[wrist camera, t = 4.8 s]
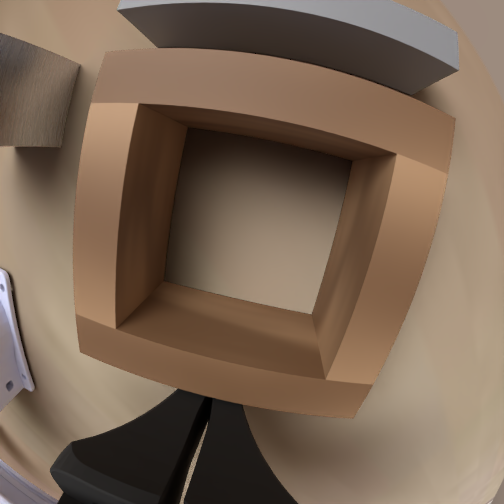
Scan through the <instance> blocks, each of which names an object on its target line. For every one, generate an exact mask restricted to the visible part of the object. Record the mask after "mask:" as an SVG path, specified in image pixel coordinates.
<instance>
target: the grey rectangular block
mask: <svg viewBox="0 0 504 504" xmlns="http://www.w3.org/2000/svg"><path fill="white" fill-rule="evenodd" d="M79 68H80V64H78V63H76V62H74V61H71V60H69V59H67V58H65V57H62V56H60V55H58V54H55V53H53V52H50V51H48V50H45V49H43V48H40V47H38V46H35V45H33V44H30V43H27V42H25V41H22V40H19V39H16V38H14V37H11V36H8V35H5V34H2V33H0V147H21V146H24V147H62V140H63V135H64V129H65V124H66V119H67V114H68V110H69V105H70V101H71V97H72V93H73V89H74V85H75V82H76V78H77V75H78V71H79Z"/></svg>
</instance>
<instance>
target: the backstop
mask: <svg viewBox="0 0 504 504" xmlns="http://www.w3.org/2000/svg"><path fill="white" fill-rule="evenodd" d="M117 11H118V12H119V13H121V14H122V15H123V16H124V17H125V18H126V19H127V20H128V21H130V22H131V23H132V24H133V25H134V26H135V27H136V28H137V29H138V30H139V31H140V32H142V33H143V34H144V35H145V36H146V37H147V38H148V39H149V40H150V41H151V42H152V43H153V44H154V45H155V46H156V47H157V48H167V47H182V48H210V49H224V50H235V51H244V52H252V53H260V54H266V55H273V56H279V57H284V58H289V59H295V60H299V61H304V62H309V63H313V64H317V65H321V66H325V67H329V68H333V69H337V70H340V71H344V72H347V73H350V74H354V75H357V76H360V77H363V78H366V79H369V80H372V81H375V82H378V83H381V84H383V85H386V86H389V87H391V88H394V89H397V90H399V91H402V92H404V93H407V94H409V95H413V94H415V93H416V92H418V91H420V90H422V89H424V88H426V87H428V86H430V85H431V84H433V83H435V82H437V81H439V80H441V79H443V78H445V77H447V76H449V75H451V74H453V73H455V72H457V71H459V52H458V35H457V32H455V31H454V30H452V29H450V28H448V27H447V26H445V25H443V24H441V23H439V22H437V21H435V20H433V19H431V18H429V17H427V16H425V15H423V14H421V13H419V12H417V11H415V10H412V9H410V8H408V7H406V6H403V5H401V4H398V3H396V2H393V1H391V0H121V1H120V3H119V6H118V8H117Z"/></svg>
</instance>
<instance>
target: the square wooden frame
mask: <svg viewBox="0 0 504 504" xmlns="http://www.w3.org/2000/svg"><path fill="white" fill-rule="evenodd" d="M188 127H190V128H198V129H205V130H212V131H219V132H225V133H232V134H238V135H243V136H249V137H254V138H260V139H265V140H270V141H274V142H279V143H284V144H288V145H293V146H297V147H301V148H306V149H310V150H314V151H318V152H322V153H325V154H329V155H333V156H336V157H340V158H344V159H347V160H351V161H353V162H352V166H351V171H350V176H349V180H348V185H347V189H346V193H345V198H344V202H343V206H342V210H341V214H340V218H339V222H338V226H337V230H336V234H335V238H334V241H333V245H332V249H331V252H330V256H329V259H328V263H327V266H326V270H325V273H324V277H323V280H322V283H321V287H320V290H319V293H318V297H317V300H316V303H315V306H314V309H313V312H312V315H311V314H306V313H300V312H295V311H290V310H286V309H281V308H276V307H271V306H267V305H262V304H257V303H253V302H248V301H244V300H239V299H235V298H231V297H226V296H222V295H218V294H214V293H209V292H205V291H201V290H197V289H193V288H189V287H185V286H181V285H177V284H173V283H170V282H166V281H164V274H165V265H166V256H167V247H168V239H169V232H170V225H171V218H172V211H173V204H174V198H175V192H176V186H177V180H178V174H179V169H180V163H181V158H182V153H183V148H184V143H185V138H186V134H187V129H188ZM454 129H455V118H454V117H452V116H450V115H448V114H446V113H444V112H442V111H440V110H438V109H436V108H434V107H432V106H430V105H428V104H425V103H423V102H421V101H419V100H417V99H414V98H412V97H410V96H407V95H405V94H402V93H400V92H397V91H395V90H392V89H390V88H387V87H384V86H382V85H379V84H376V83H373V82H370V81H368V80H365V79H361V78H358V77H355V76H352V75H349V74H345V73H342V72H339V71H335V70H331V69H328V68H324V67H320V66H316V65H311V64H307V63H303V62H298V61H293V60H288V59H283V58H277V57H272V56H265V55H259V54H252V53H244V52H235V51H225V50H212V49H192V48H152V49H132V50H120V51H110V52H106V53H105V56H104V59H103V62H102V65H101V68H100V71H99V75H98V78H97V82H96V85H95V89H94V93H93V97H92V101H91V105H90V109H89V113H88V118H87V123H86V128H85V133H84V138H83V144H82V150H81V156H80V163H79V170H78V178H77V187H76V198H75V211H74V230H73V281H74V300H75V313H76V324H77V333H78V341H79V348H80V352H81V353H83V354H85V355H88V356H90V357H92V358H95V359H97V360H99V361H102V362H104V363H107V364H109V365H112V366H114V367H117V368H119V369H122V370H124V371H127V372H130V373H133V374H135V375H138V376H141V377H144V378H147V379H150V380H153V381H156V382H159V383H162V384H165V385H168V386H172V387H175V388H178V389H182V390H185V391H189V392H193V393H196V394H200V395H204V396H208V397H212V398H216V399H220V400H225V401H229V402H234V403H238V404H243V405H248V406H253V407H259V408H265V409H270V410H277V411H283V412H290V413H298V414H306V415H315V416H325V417H338V418H354V416H355V414H356V413H357V411H358V410H359V408H360V406H361V405H362V403H363V401H364V399H365V398H366V396H367V394H368V392H369V391H370V389H371V387H372V385H373V384H374V382H375V380H376V378H377V376H378V374H379V372H380V370H381V368H382V366H383V365H384V363H385V361H386V359H387V357H388V354H389V352H390V350H391V348H392V346H393V344H394V342H395V340H396V338H397V335H398V333H399V331H400V329H401V326H402V324H403V322H404V319H405V317H406V314H407V312H408V310H409V307H410V305H411V302H412V299H413V297H414V294H415V292H416V289H417V286H418V283H419V281H420V278H421V275H422V272H423V269H424V266H425V263H426V260H427V257H428V254H429V250H430V247H431V244H432V240H433V237H434V233H435V229H436V226H437V222H438V218H439V214H440V210H441V206H442V201H443V197H444V192H445V187H446V182H447V177H448V171H449V165H450V159H451V153H452V145H453V138H454Z"/></svg>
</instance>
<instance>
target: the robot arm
mask: <svg viewBox="0 0 504 504" xmlns="http://www.w3.org/2000/svg"><path fill="white" fill-rule="evenodd" d="M23 388H26V389H27V390H29V391H31V392H32V391H33V390H34V389H35V387H34V384H33V381H32V378H31V375H30V372H29V368H28V365H27V362H26V358H25V355H24V351H23V347H22V343H21V339H20V335H19V330H18V326H17V321H16V316H15V311H14V305H13V299H12V293H11V286H10V279H9V276H8V274H7V272H6V271H4V270H3V269H1V268H0V411H1V410H2V409H3V408H4V407H5V406H6V405H7V404H8V403H9V402H10V401H11V400H12V399H13V398H14V397H15V396H16V395H17V394H18V393H19V392H20V391H21V390H22V389H23ZM207 422H208V426H207V431H206V434H205V437H204V440H203V444H202V447H201V450H200V453H199V456H198V459H197V463H196V466H195V469H194V472H193V475H192V478H191V481H190V484H189V487H188V490H187V492H186V495H185V498H184V504H298V503H297V502H296V501H295V499H294V498H293V497H292V496H291V495H290V494H289V493H288V492H287V490H286V489H285V488H284V487H283V485H282V484H281V483H280V481H279V480H278V479H277V477H276V476H275V475H274V473H273V472H272V470H271V468H270V467H269V465H268V464H267V462H266V460H265V459H264V457H263V456H262V454H261V452H260V450H259V448H258V446H257V444H256V442H255V440H254V437H253V435H252V433H251V430H250V428H249V425H248V422H247V419H246V416H245V413H244V409H243V405H242V404H238V403H234V402H229V401H225V400H220V399H216V398H212V397H208V396H204V395H200V394H196V393H193V392H189V391H185V390H182V389H177V390H176V391H175V392H173V393H172V394H171V395H170V396H169V397H167V398H166V399H165V400H164V401H162V402H161V403H160V404H158V405H157V406H155V407H154V408H153V409H151V410H149V411H148V412H146V413H145V414H143V415H141V416H140V417H138V418H136V419H134V420H132V421H130V422H128V423H126V424H124V425H122V426H120V427H117V428H115V429H112V430H110V431H107V432H105V433H102V434H99V435H96V436H93V437H89V438H85V439H81V440H77V441H73V442H71V443H70V444H69V445H68V446H67V447H66V448H65V449H64V450H63V451H62V452H61V454H60V455H59V456H58V458H57V459H56V461H55V462H54V464H53V465H52V467H51V468H50V473H51V475H52V477H53V479H54V480H55V481H56V483H57V484H58V485H59V487H60V488H61V489H62V491H63V492H64V493H63V494H62V496H61V498H60V500H59V501H58V500H57V499H55V498H53V497H52V496H50V495H49V494H47V493H45V492H44V491H42V490H41V489H39V488H38V487H36V486H35V485H34V484H32V483H31V482H29V481H28V480H27V479H25V478H24V477H22V476H21V475H20V474H19V473H17V472H16V471H15V470H13V469H12V468H11V467H10V466H8V465H7V464H6V463H5V462H4V461H2V460H1V459H0V504H179V503H180V500H181V496H182V492H183V489H184V485H185V482H186V478H187V474H188V471H189V468H190V465H191V462H192V459H193V457H194V454H195V452H196V449H197V447H198V444H199V442H200V439H201V437H202V434H203V432H204V429H205V427H206V424H207Z"/></svg>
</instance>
